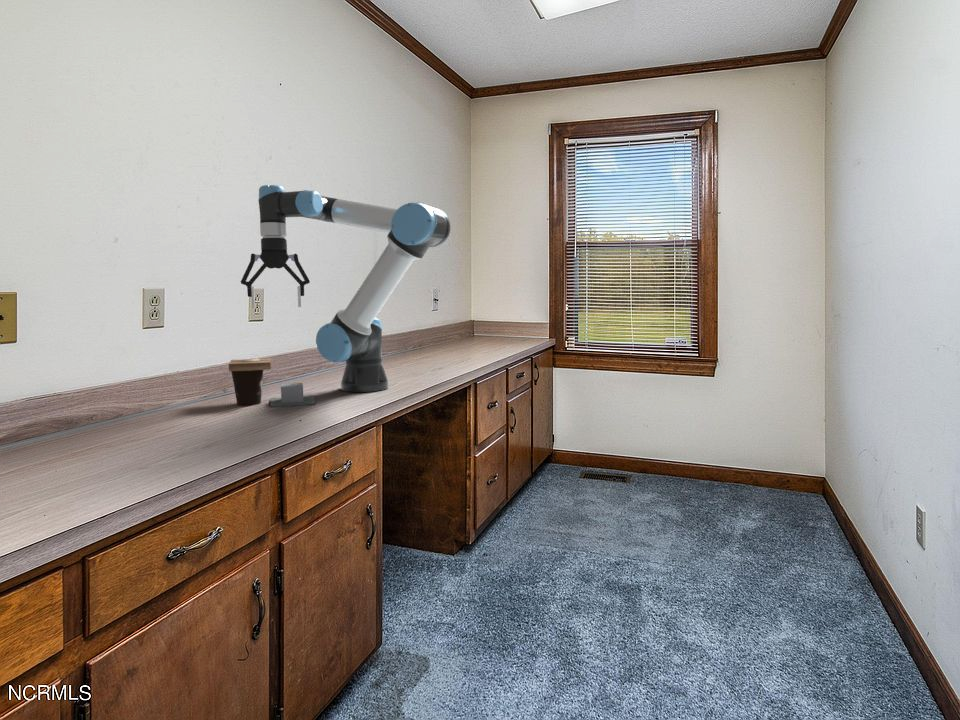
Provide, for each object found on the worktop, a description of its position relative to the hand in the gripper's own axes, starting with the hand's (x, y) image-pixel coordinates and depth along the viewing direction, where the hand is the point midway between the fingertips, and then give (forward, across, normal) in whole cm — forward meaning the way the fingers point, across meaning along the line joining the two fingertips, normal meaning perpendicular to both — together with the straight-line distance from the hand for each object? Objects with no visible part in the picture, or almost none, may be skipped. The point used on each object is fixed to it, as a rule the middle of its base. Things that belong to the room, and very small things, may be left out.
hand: (276, 307), depth 199 cm
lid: (+17, +8, +15) cm, 24 cm away
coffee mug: (+27, +8, +16) cm, 32 cm away
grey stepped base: (+27, -3, +19) cm, 33 cm away
